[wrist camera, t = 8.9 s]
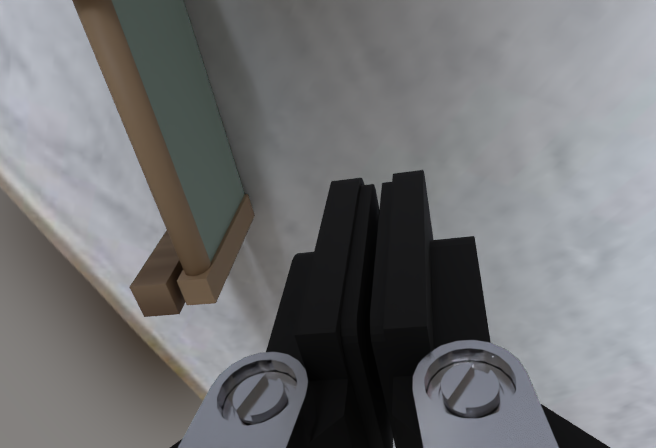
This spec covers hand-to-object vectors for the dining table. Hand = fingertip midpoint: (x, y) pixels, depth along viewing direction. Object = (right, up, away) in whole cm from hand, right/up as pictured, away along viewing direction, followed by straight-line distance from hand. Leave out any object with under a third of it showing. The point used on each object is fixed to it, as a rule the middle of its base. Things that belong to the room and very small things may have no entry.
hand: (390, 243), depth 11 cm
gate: (-8, +7, +22) cm, 24 cm away
